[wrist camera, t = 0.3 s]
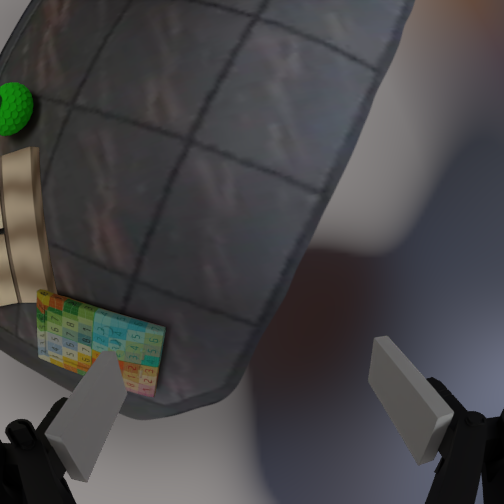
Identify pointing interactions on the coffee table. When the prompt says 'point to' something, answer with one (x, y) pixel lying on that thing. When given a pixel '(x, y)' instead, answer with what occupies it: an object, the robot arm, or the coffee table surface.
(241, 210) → the coffee table surface
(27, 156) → the laid board
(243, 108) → the coffee table surface
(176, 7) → the coffee table surface
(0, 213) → the plank
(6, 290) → the plank
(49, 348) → the puzzle game
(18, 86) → the ornament
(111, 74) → the coffee table surface
